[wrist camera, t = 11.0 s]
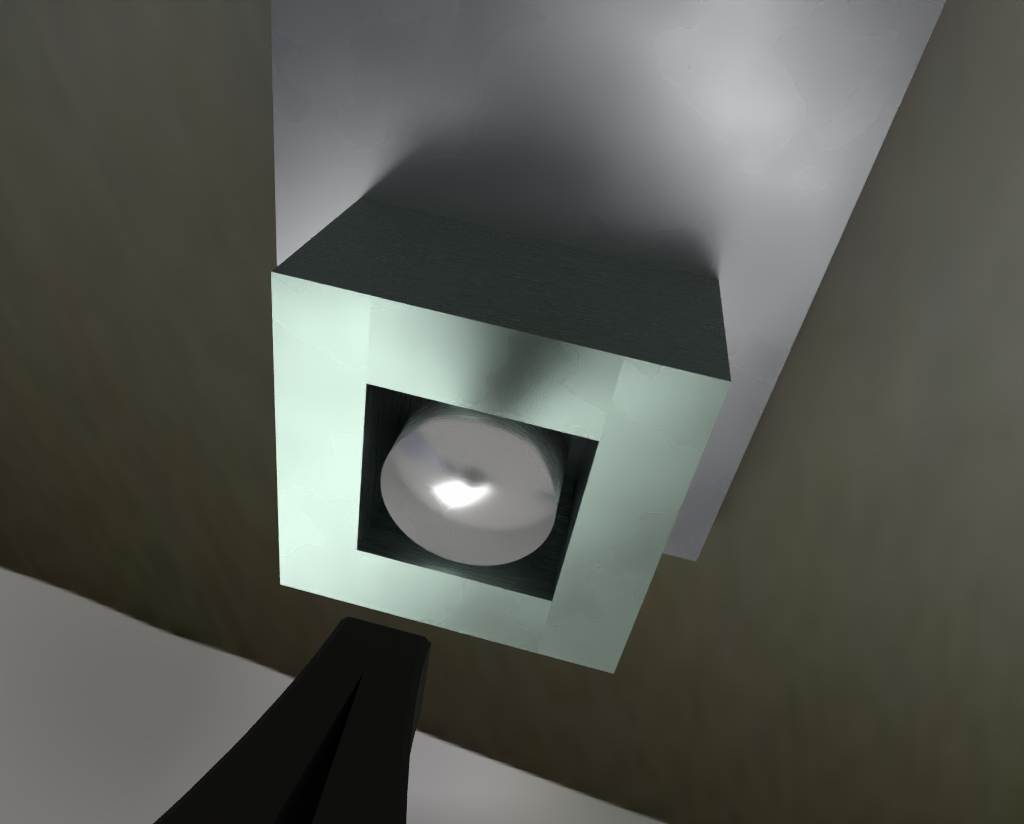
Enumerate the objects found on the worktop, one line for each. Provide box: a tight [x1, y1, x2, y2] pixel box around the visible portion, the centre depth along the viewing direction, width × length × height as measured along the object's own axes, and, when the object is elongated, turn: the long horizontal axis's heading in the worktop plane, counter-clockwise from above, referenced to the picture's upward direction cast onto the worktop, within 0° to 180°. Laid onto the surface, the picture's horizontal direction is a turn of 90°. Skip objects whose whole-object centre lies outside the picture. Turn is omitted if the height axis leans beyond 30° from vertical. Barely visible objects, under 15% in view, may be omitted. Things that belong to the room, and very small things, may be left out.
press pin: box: [381, 397, 572, 566], centre depth 16 cm, size 4×4×4 cm
